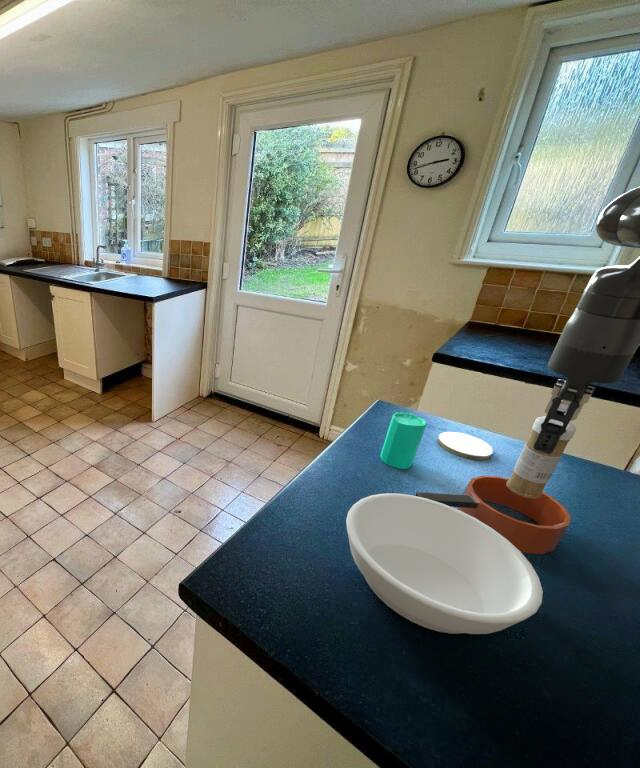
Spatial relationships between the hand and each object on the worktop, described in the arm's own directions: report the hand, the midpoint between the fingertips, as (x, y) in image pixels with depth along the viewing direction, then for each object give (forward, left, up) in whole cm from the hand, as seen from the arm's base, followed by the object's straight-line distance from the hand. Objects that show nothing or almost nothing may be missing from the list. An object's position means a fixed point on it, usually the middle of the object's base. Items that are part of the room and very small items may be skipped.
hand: (545, 444), depth 66 cm
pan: (+5, 0, -17) cm, 17 cm away
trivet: (-8, -25, -17) cm, 31 cm away
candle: (+10, -18, -17) cm, 27 cm away
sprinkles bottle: (0, 0, -10) cm, 10 cm away
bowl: (+22, +15, -17) cm, 32 cm away
